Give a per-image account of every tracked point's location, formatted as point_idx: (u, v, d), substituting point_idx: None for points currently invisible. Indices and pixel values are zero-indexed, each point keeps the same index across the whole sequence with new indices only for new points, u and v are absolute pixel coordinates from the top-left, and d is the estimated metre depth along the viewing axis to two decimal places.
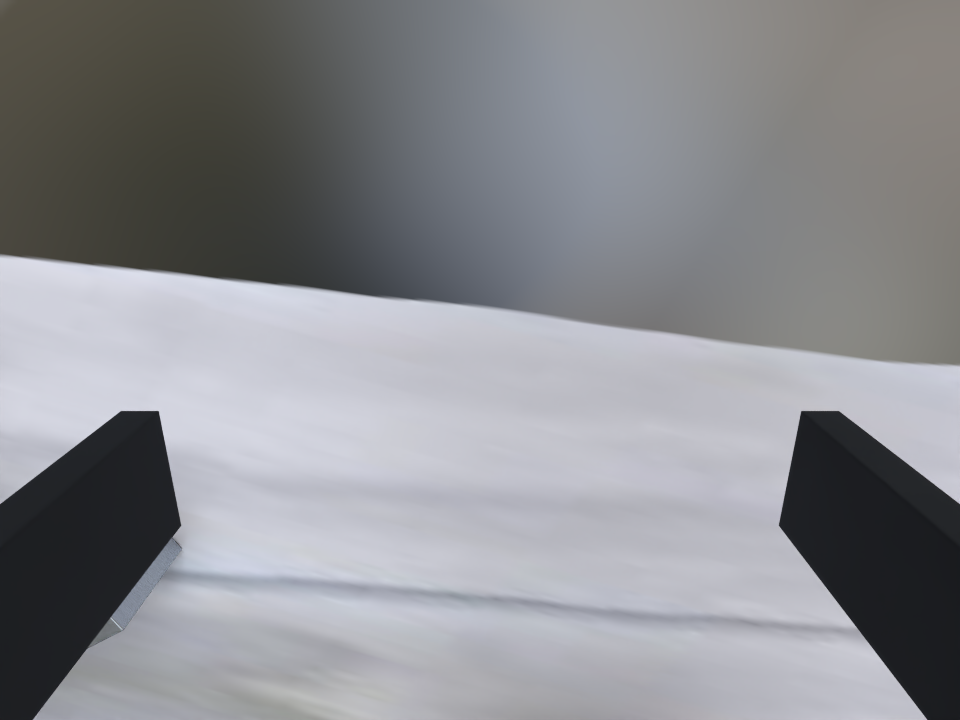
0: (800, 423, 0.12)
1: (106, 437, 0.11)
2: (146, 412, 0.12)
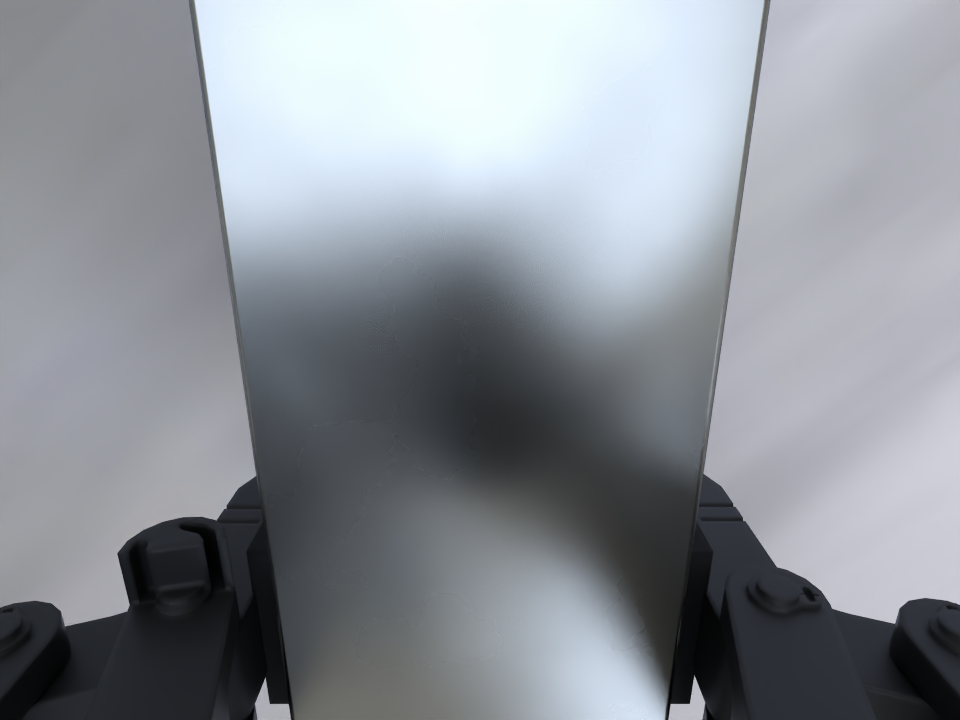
0: None
1: None
2: None
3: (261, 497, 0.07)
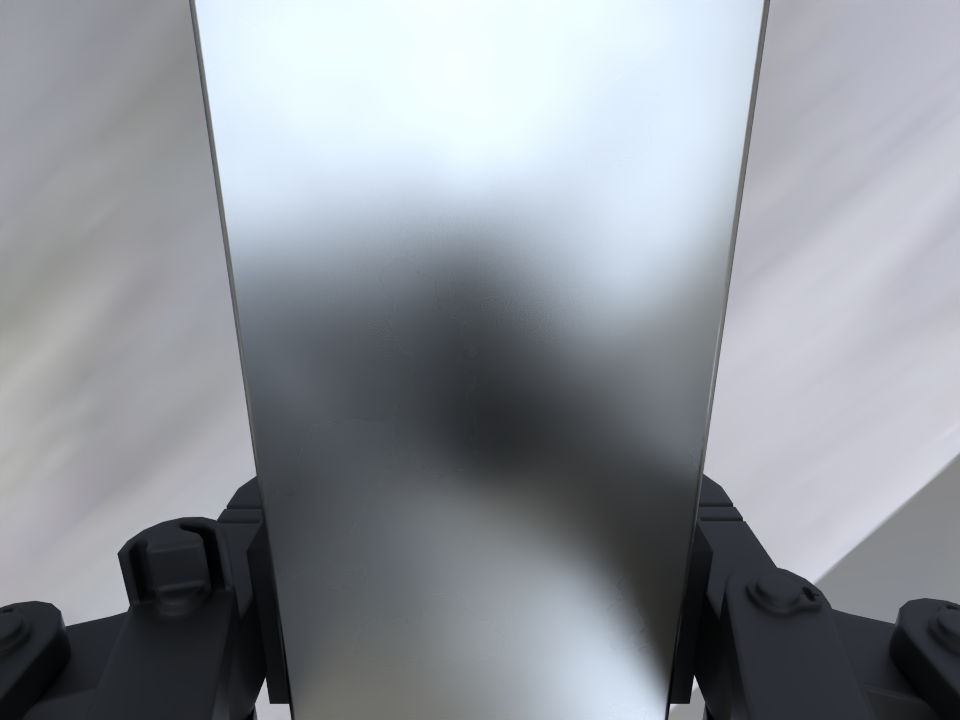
0: None
1: None
2: None
3: (261, 496, 0.07)
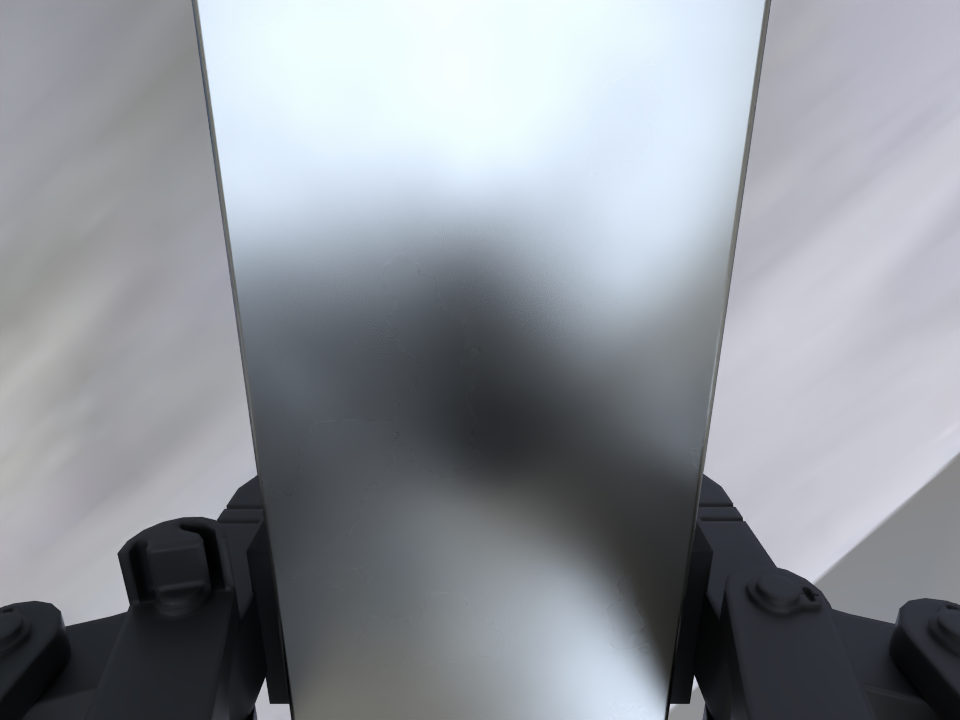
0: None
1: None
2: None
3: (261, 495, 0.07)
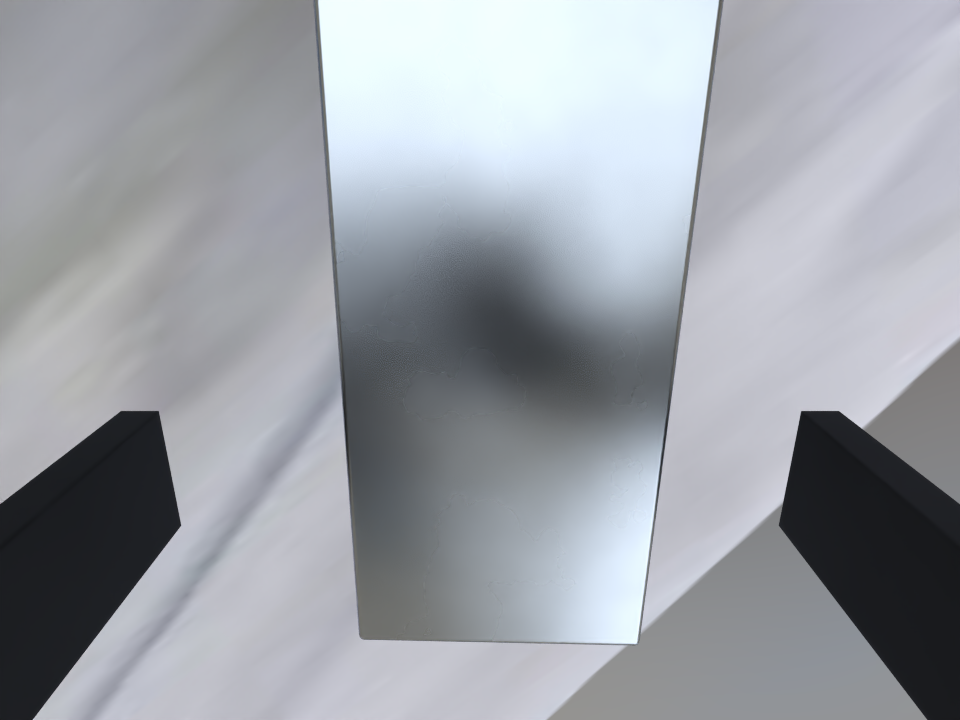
0: (800, 423, 0.12)
1: (106, 437, 0.11)
2: (146, 412, 0.12)
3: (332, 258, 0.08)
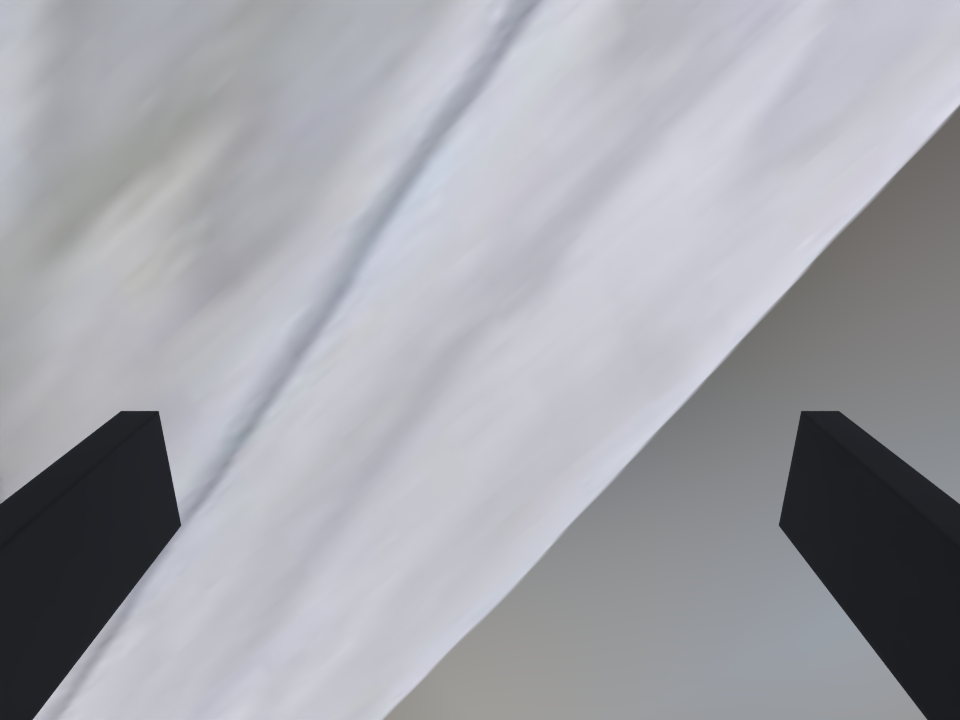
0: (800, 423, 0.12)
1: (106, 437, 0.11)
2: (146, 412, 0.12)
3: None
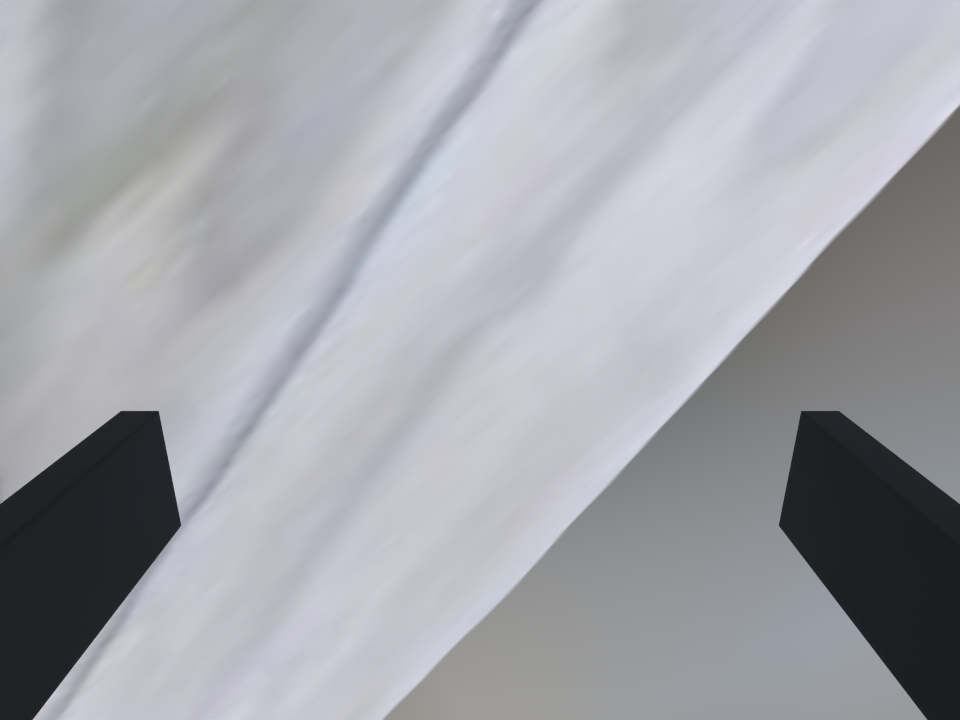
0: (800, 423, 0.12)
1: (106, 437, 0.11)
2: (146, 412, 0.12)
3: None
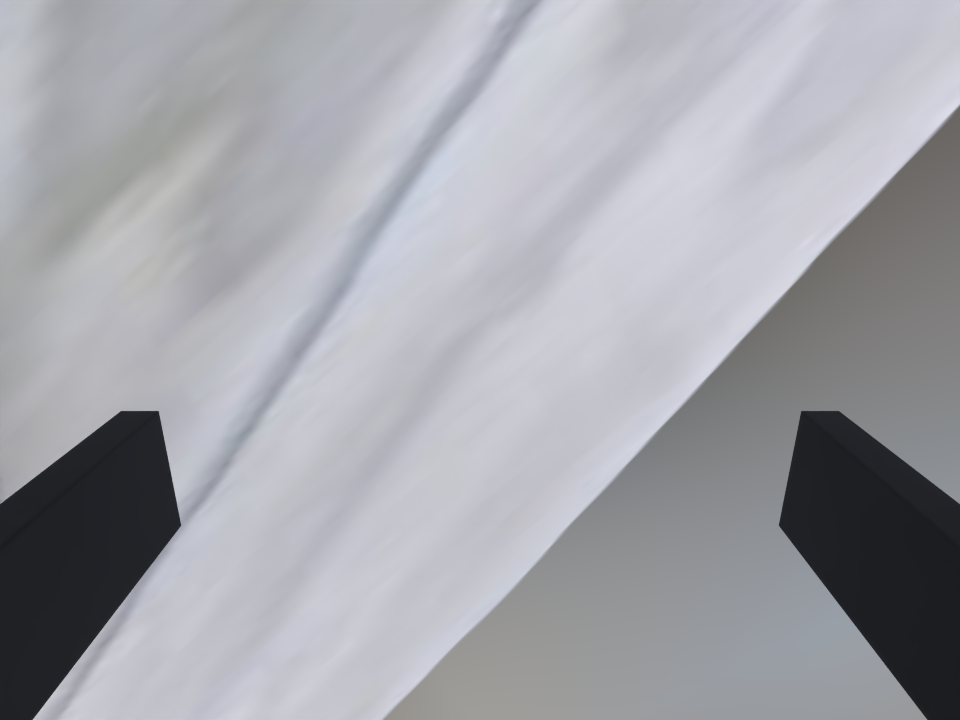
0: (800, 423, 0.12)
1: (106, 437, 0.11)
2: (146, 412, 0.12)
3: None
